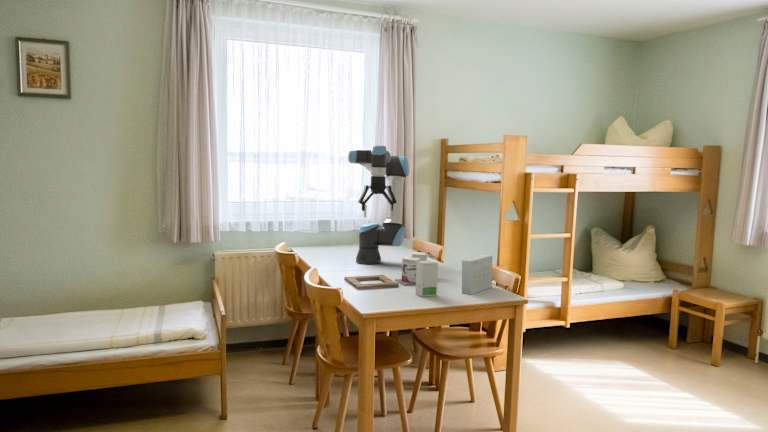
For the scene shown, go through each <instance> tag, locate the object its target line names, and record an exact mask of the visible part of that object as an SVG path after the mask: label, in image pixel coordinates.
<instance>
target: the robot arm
mask: <svg viewBox="0 0 768 432" xmlns="http://www.w3.org/2000/svg"><path fill="white" fill-rule="evenodd" d="M347 155H348V156H347V158H348V162H349V164H359V165H360V166H362V167H363V168H365V169H366V170H367V171H368V172H370V185H368V184H367V185H366V184H365V185H364V189H363V191H362V194H361V195H360V197H359V198H358V201H357V202H358V204H361V211H363V214H362V215H363V216H362V218H366V219H367V207H368V205H367V203H368V201H370V199H371V197H372V196H374V194H375V195H378V194H379V195H382V196H383V197H384V198H385V200H386V210H385V211H386V213H385V220H384V221H382V225H380V223H378V222H371V223H364V224H361V225H360V226H359V232H358V235H359V236H358V242H359V243H358V251H357V254H356V257H355V263H356V264H361V265H378V264H381V263H382V257H381V254H380V251H379V249H380V248H379V247H380V246H385V247H401V246H402V244H403V242H404V239H405V234H406V232H405V231H406V228H405V227H404V226H403V223H402V222H401V213H402V200H403V199H402V198H403V185H404V181H406V177H409V175H410V174H409V173H410V167H409V166H410V165H409V161H408V158H407V157H406V156H403V155H402V156H401V155H391V153H390V151H388V150H387V146H386V145H372V146H371V149H364V148H363V149H362V148H361V149H359V148H358V149H357V148H355V149H354V148H352V149H349V151H348V154H347ZM386 180H388V182H387V184H388V185H386ZM369 189H370V191H369ZM386 190H387V192H386ZM368 191H369V192H368ZM367 193H368V194H367Z"/></svg>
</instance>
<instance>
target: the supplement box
mask: <svg viewBox="0 0 768 432" xmlns="http://www.w3.org/2000/svg"><path fill="white" fill-rule="evenodd" d="M411 257H414V258H420V259H421V261H428V252H424V251H423V252H421V251H420V252H419V251H415V252H413V253H412V256H411Z"/></svg>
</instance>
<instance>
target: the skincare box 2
mask: <svg viewBox="0 0 768 432" xmlns="http://www.w3.org/2000/svg"><path fill="white" fill-rule="evenodd" d="M490 288H493V255H489V254H482V255H477V256H472V257H470V258H466V259H465V258H464V259H463V260H462V261H461V294H466V295H471V296H472V295H474V294H476V293H479V292H482V291H485V290H487V289H490Z"/></svg>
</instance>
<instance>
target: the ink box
mask: <svg viewBox="0 0 768 432" xmlns="http://www.w3.org/2000/svg"><path fill="white" fill-rule="evenodd" d="M401 261H402V262H401V278H400V279H401V281H406V282H415V283H416V270H417V261H421V259H420V258H414V257H412V256H404V257H403V258H402V259H401Z"/></svg>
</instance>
